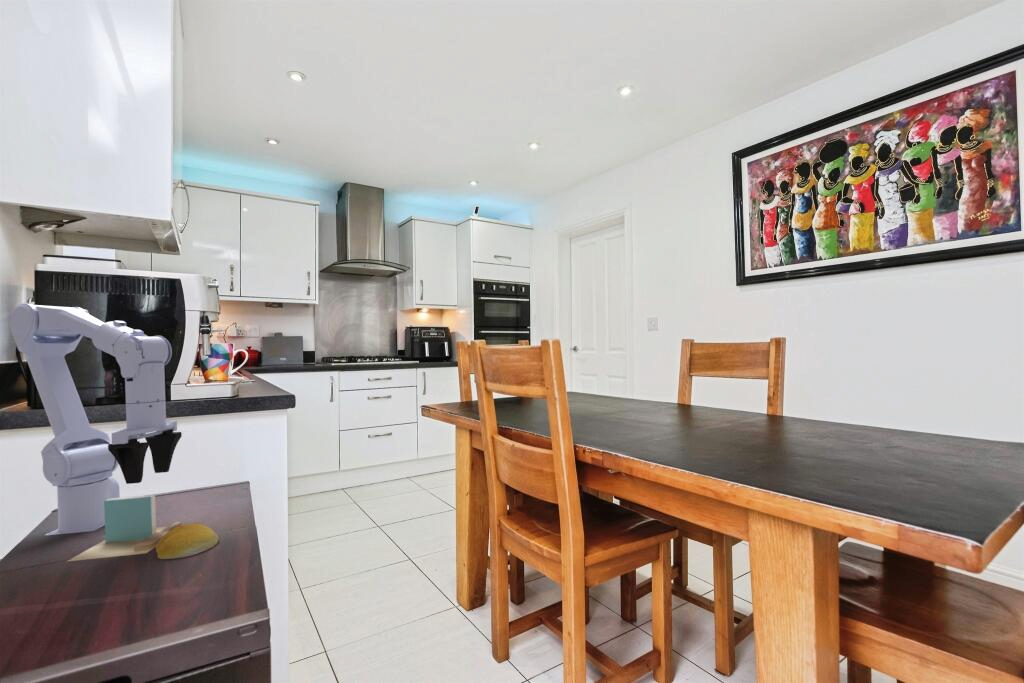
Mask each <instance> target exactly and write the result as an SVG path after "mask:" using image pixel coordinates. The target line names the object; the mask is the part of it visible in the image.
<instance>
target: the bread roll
mask: <svg viewBox="0 0 1024 683" xmlns="http://www.w3.org/2000/svg"><path fill="white" fill-rule="evenodd" d="M181 525H182V526H179V527H176V528H174V529H172V530H171V531H169V532H168V533H167V534H165V535H164V536H163V537H162V538H161V539H160V540H159V542H158V543H157V546H156V547H155V553H157V555H156V556H157V558H158V559H159V560H169V559H170V560H171V559H180V558H186V557H187V558H188V557H190V556H195V555H197V554H200V553H203V552H205V551H207V550H209V549H212V548H214V546H216V545H217V544H218V543H219V536H218V534H217V533H216V532H215V531H214V530H213V529H212V528H211V527H208V526H207V525H205V524H200V523H188V524H181Z"/></svg>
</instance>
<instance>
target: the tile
mask: <svg viewBox="0 0 1024 683" xmlns="http://www.w3.org/2000/svg"><path fill="white" fill-rule="evenodd" d="M104 509H105V525H104V540H105V543H108V542H118V541H128V540H138V539H146V538H147V537H149V536H150V535H152V534H154V533H156V528H157V516H156V512H157V510H156V494H149V495H148V494H146V495H135V496H125V497H123V496H122V497H120V498H111V499H108V500H106V501H104Z"/></svg>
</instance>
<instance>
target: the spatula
mask: <svg viewBox="0 0 1024 683" xmlns="http://www.w3.org/2000/svg"><path fill="white" fill-rule="evenodd" d="M181 525H182V522H181V521H177V522H176V521H175V522H173V523H172V524H170V525H169V526H166V527H167V528H165V529H164V530H162V531H161V532H156V533H154V534H152V535H150V536H149V537H147V538H146V539H144V540H143V541H141V542H139V543H138V544H136V545H135V546H134V551H141V550H150V549H152V548H153V549H155V548H156V547H155V546H157V543H158V542H159V540H160V539H161V538H162V537H163V536H164V535H165V534H167V533H168V532H169V531H171V530H172V529H174V528H176V527H179V526H181ZM154 547H155V548H154ZM153 549H152V550H153ZM150 551H151V550H150Z"/></svg>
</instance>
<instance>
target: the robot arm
mask: <svg viewBox="0 0 1024 683" xmlns="http://www.w3.org/2000/svg"><path fill="white" fill-rule="evenodd" d="M9 328H10V330H11V333H12V336H13V339H14V342H15V345H16V348H17V350H18V352H20V353H22V354H24V355H25V359H26V362H27V365H28V367H29V370H30V373H31V376H32V378H33V381H34V383H35V386H36V389H37V392H38V395H39V397H40V399H41V403H42V405H43V409H44V411H45V414H46V416H47V419H48V422H49V424H50V427H51V430H52V432H53V435H54V438H52V439H51V440H50V441H48V443H47V444H46V445H45V446H44V447H42V450H41V451H40V454H41V458H42V473H43V475H44V478H45V480H47V481H48V482H49V483H50V484H52V487H57V490H56V491H57V496H56V497H57V529H55V530H52V531H50V532H47V533H46V534H45V536H53V535H63V534H64V535H65V534H74V533H84V532H86V533H87V532H94V531H97V530H98V529H101V527H102V528H103V526H104V527H105V509H104V501H106V500H108V499H111V498H121V496H120V484H119V482H118V481H117V479H115V478H114V477H113V472H114V471H116V470H117V468H118V467H119V468H120V469H121V473H122V475H123V478H124V480H125V483H126V484H127V485H131V484H140V483H142V481H143V477H144V465H145V464H144V462H145V458H146V453H147V451H148V448H149V450H150V455H151V460H152V468H153V469H154V470H153V471H154V473H155V474H161V473H167V472H168V473H169V471H170V467H171V464H172V459H173V457H174V452H175V449H176V448H177V445H178V443H179V442H180V439H181V438H182V434H183V433H182V431H178V422H177V420H167V411H166V407H167V406H166V383H165V382H166V380H165V379H166V377H165V375H166V374H165V366H167V365H168V363H170V361H171V358H172V355H173V349H172V346H171V345H172V344H171V343H170V342H169V340H168V339H167V338H165V337H164V336H162V335H153V336H148V335H147V334H145V333H144V331H143V330H141V329H134V328H131V327H130V326H129V327H128V326H127V322H126V321H124V320H113V321H107V322H104V321H102V320H100V319H98V318H96V317H95V316H93V315H91V314H90V313H89V310H88V309H84V308H82V307H79V306H72V307H70V306H58V305H57V306H56V305H55V306H54V305H41V304H40V305H39V304H31V303H27V302H24V303H23V302H22V303H20V304H19V305H17V306H16V307H15V308H14V309H13V311H12V313H11V317H10V321H9ZM83 337H86V338H89V339H91V341H92V344H93V346H95V348H96V349H98V350H100V351H102V352H104V353H106V354H109V355H111V356H113V357H114V358H115V360H116V362H117V363H118V365H119V368H120V375H121V377H122V378H124V383H125V384H124V385H125V386H124V388H125V389H124V390H125V416H126V417H125V418H126V428H124V429H120V430H118V431H115V432H112V433H111V439H110V437H109V436H110V435H109V433H107V432H105V431H102V430H100V429H97V428H95V427H93V426H91V424H90V420H89V419H88V416H87V414H86V411H85V408H84V406H83V402H82V400H81V398H80V394H79V393H78V391H77V388H76V385H75V382H74V379H73V376H72V375H71V372H70V369H69V366H68V364H67V362H66V358H65V356H66V355H68V354H69V353H72V352H74V351H75V350H76V349H77V346H78V345H79V343H80V341H81V340H82V338H83ZM141 439H145V441H146V442H140V440H141Z"/></svg>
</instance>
